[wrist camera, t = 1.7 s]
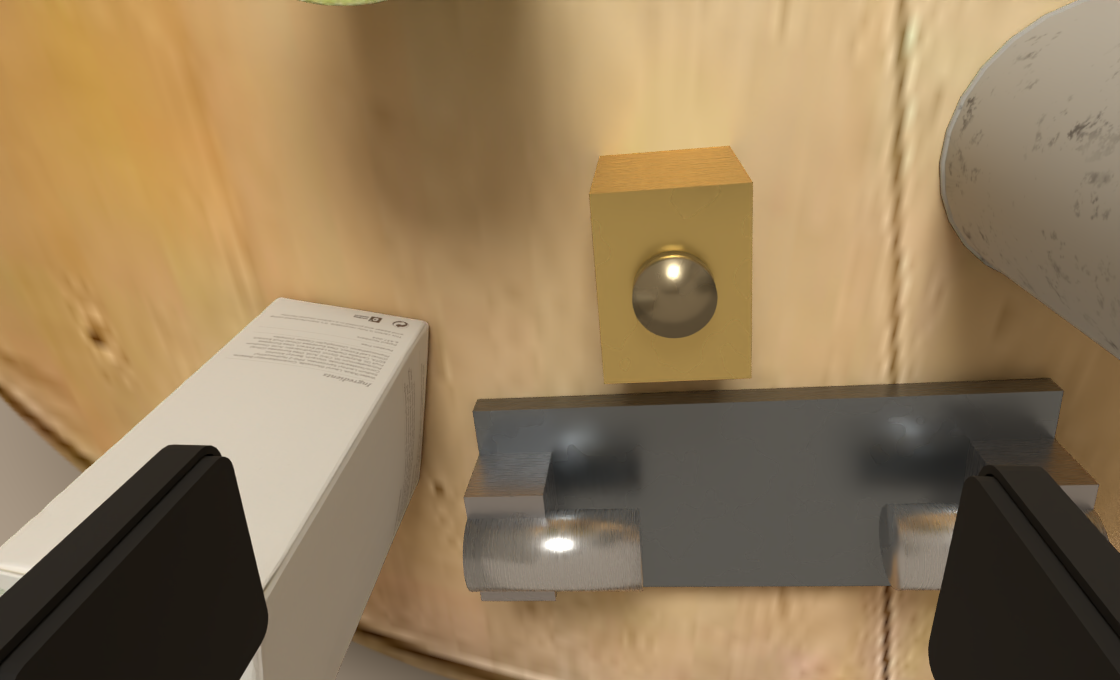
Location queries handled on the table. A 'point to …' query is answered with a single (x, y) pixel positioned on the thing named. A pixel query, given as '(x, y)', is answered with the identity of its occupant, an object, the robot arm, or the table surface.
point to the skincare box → (287, 467)
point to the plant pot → (342, 2)
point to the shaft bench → (744, 484)
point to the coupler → (673, 265)
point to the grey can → (1046, 165)
